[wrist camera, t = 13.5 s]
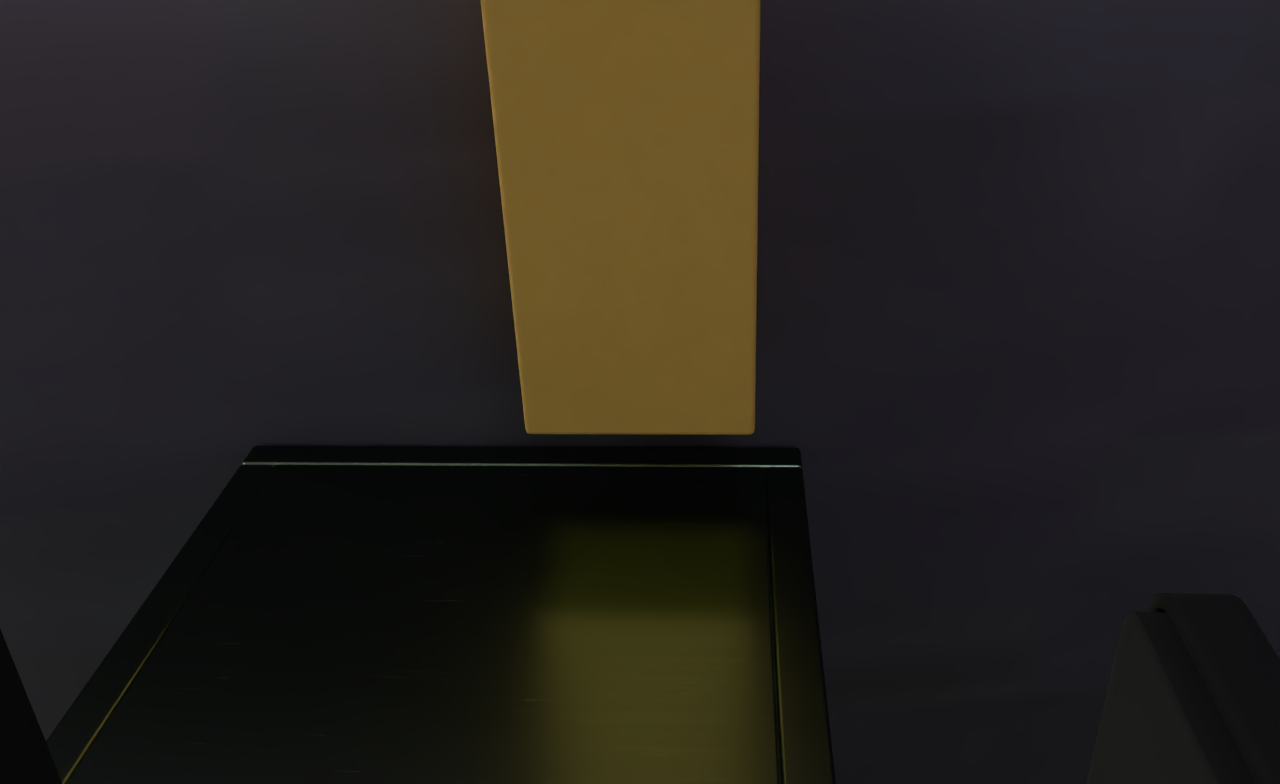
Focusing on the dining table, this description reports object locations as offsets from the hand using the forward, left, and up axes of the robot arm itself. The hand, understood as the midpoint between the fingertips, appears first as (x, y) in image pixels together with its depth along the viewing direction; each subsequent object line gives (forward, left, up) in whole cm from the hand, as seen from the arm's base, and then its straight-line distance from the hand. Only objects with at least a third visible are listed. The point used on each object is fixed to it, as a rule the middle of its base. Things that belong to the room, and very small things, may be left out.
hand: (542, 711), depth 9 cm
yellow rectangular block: (-1, 0, -15) cm, 15 cm away
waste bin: (+14, -3, -15) cm, 20 cm away
